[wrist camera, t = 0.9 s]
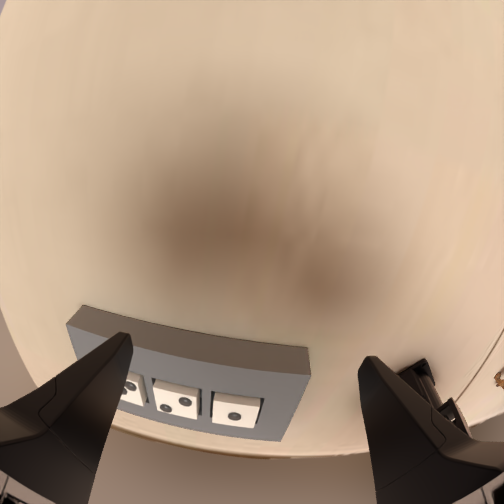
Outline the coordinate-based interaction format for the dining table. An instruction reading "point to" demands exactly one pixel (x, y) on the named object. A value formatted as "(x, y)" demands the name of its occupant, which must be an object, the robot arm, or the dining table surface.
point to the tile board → (203, 371)
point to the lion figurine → (499, 380)
